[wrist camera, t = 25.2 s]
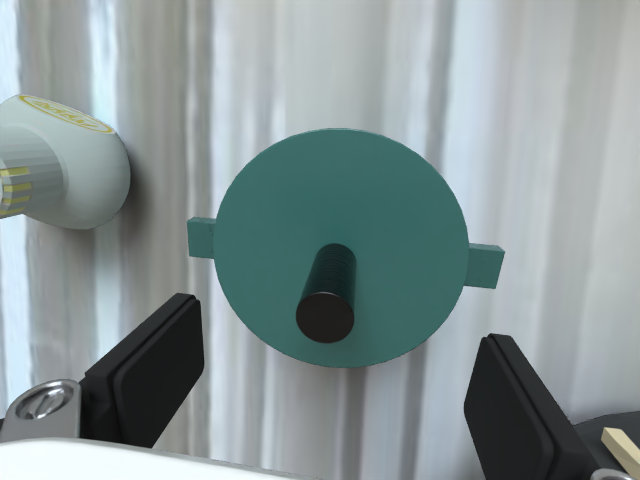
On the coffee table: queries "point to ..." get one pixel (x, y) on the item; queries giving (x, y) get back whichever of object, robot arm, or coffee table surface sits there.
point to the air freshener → (59, 164)
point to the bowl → (614, 441)
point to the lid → (341, 247)
